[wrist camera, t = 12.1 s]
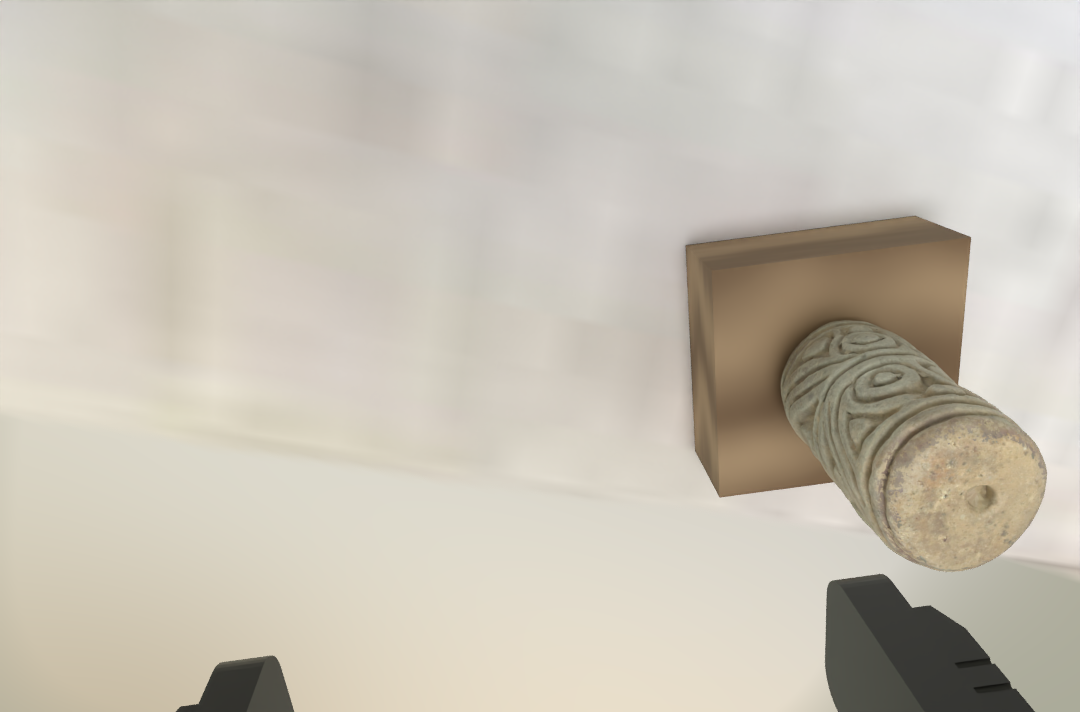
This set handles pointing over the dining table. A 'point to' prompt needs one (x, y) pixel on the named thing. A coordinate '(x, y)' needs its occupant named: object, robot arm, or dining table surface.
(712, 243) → the walnut block
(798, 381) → the carving
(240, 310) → the dining table surface
